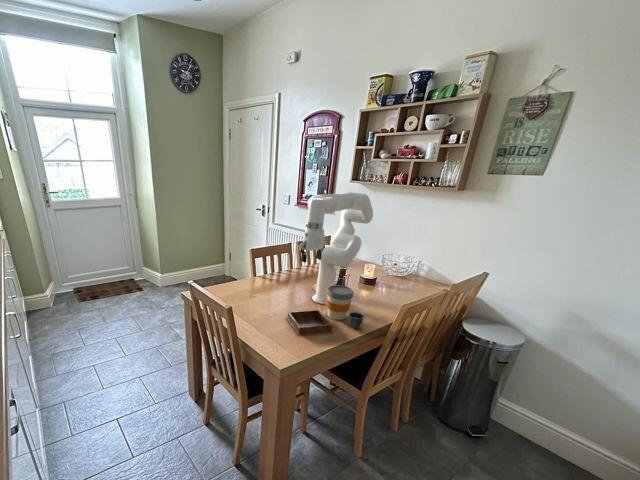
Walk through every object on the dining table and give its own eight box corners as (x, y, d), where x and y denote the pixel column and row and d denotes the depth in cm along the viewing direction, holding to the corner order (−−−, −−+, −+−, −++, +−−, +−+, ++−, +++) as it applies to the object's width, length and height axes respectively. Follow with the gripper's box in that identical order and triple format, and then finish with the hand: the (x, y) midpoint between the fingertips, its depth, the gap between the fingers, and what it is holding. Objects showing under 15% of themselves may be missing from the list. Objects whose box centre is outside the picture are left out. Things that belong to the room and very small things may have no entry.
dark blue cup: (357, 322, 163) (359, 311, 161) (364, 329, 157) (366, 318, 155) (344, 323, 162) (346, 312, 160) (351, 330, 156) (353, 319, 154)
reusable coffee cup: (327, 308, 177) (331, 283, 171) (351, 314, 171) (356, 288, 165) (320, 318, 167) (324, 291, 161) (345, 324, 161) (350, 296, 155)
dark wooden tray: (317, 316, 168) (318, 309, 167) (331, 332, 154) (332, 325, 152) (287, 319, 165) (288, 311, 164) (298, 335, 151) (299, 327, 149)
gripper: (306, 229, 148) (302, 265, 155) (333, 225, 156) (329, 260, 163) (295, 225, 153) (292, 260, 161) (322, 222, 162) (318, 256, 169)
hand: (310, 260), depth 162 cm, fingers open, 9 cm apart
